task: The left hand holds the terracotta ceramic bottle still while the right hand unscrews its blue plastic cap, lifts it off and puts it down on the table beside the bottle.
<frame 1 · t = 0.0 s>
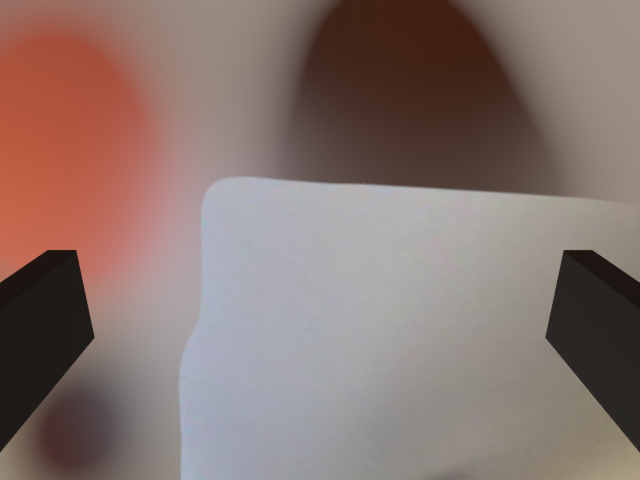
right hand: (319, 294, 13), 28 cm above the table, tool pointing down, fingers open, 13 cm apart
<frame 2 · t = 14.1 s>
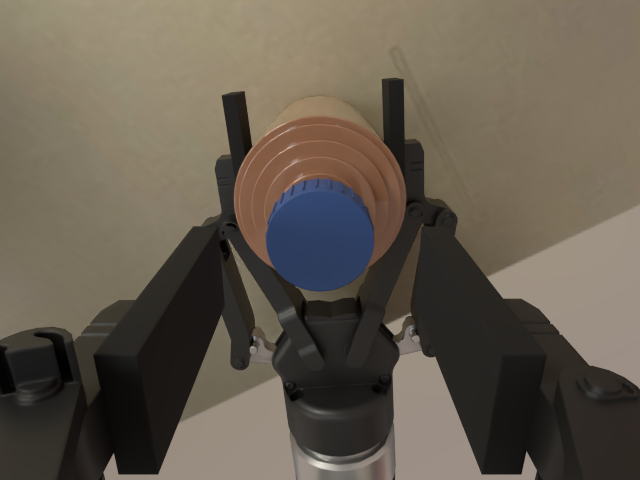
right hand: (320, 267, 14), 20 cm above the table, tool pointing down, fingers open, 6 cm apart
left hand: (312, 86, 24), fingers closed on bottle, 8 cm apart
cap: (320, 240, 16), point 17 cm above the table, screwed on, not yet turned
bottle: (320, 152, 32), on the table, touching left hand
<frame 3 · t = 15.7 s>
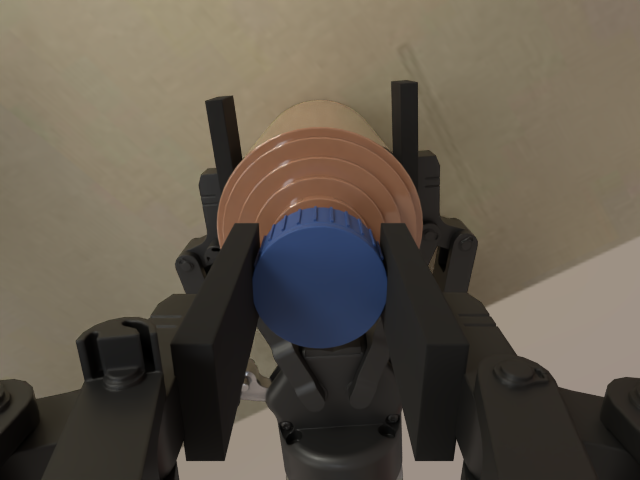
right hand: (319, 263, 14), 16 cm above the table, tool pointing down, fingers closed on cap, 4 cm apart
left hand: (311, 90, 21), fingers closed on bottle, 8 cm apart
cap: (319, 286, 13), point 17 cm above the table, screwed on, not yet turned, touching right hand
bottle: (319, 163, 29), on the table, touching left hand
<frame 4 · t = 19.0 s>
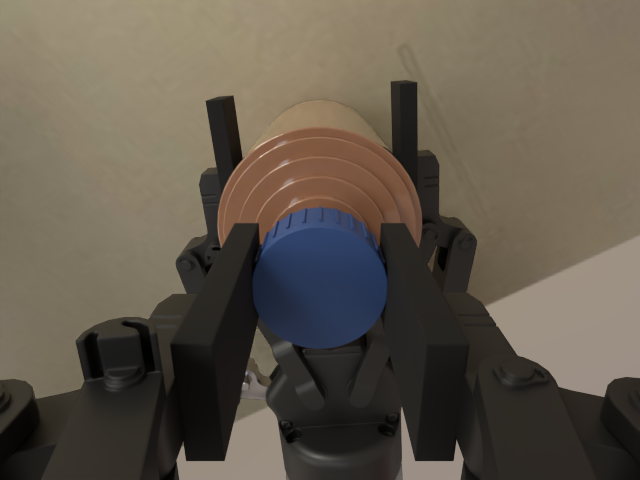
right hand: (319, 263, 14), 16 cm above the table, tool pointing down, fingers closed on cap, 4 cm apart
left hand: (311, 90, 21), fingers closed on bottle, 8 cm apart
cap: (319, 286, 13), point 17 cm above the table, turned 106° so far, risen 0.1 cm, still on its thread, touching right hand
bottle: (319, 163, 29), on the table, touching left hand
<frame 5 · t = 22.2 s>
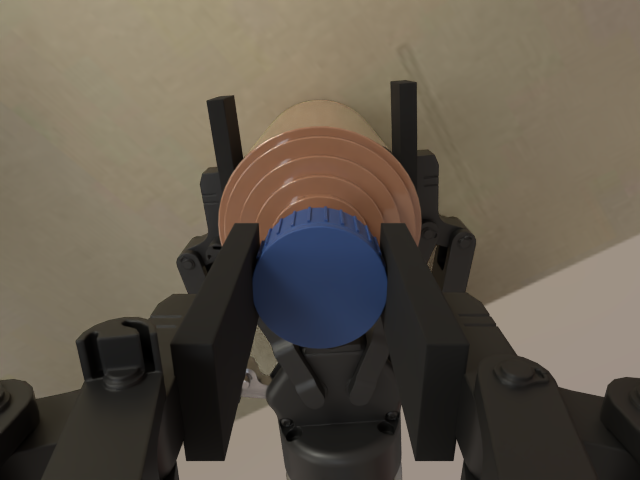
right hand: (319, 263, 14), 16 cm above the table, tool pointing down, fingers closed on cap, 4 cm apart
left hand: (311, 90, 21), fingers closed on bottle, 8 cm apart
cap: (319, 286, 13), point 17 cm above the table, turned 213° so far, risen 0.2 cm, still on its thread, touching right hand
bottle: (319, 162, 29), on the table, touching left hand
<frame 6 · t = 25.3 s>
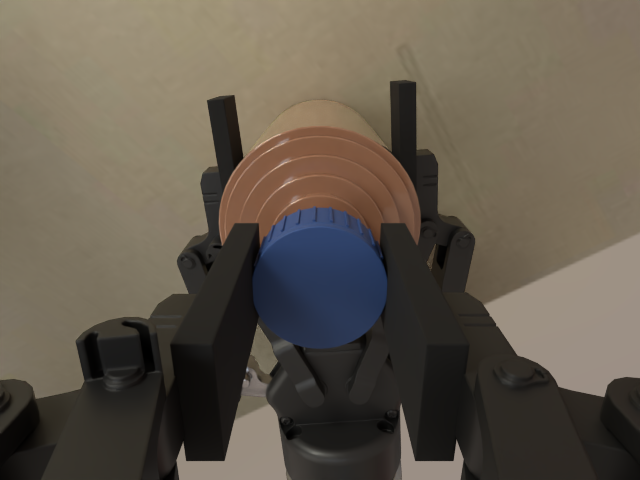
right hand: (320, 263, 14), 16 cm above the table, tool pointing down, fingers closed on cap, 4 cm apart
left hand: (311, 90, 21), fingers closed on bottle, 8 cm apart
cap: (319, 286, 13), point 18 cm above the table, turned 319° so far, risen 0.4 cm, still on its thread, touching right hand
bottle: (319, 162, 29), on the table, touching left hand
when the right hand's fingers open (1 cm above the table, at t = 31.2 s): cap drops 1 cm, point 1 cm above the table.
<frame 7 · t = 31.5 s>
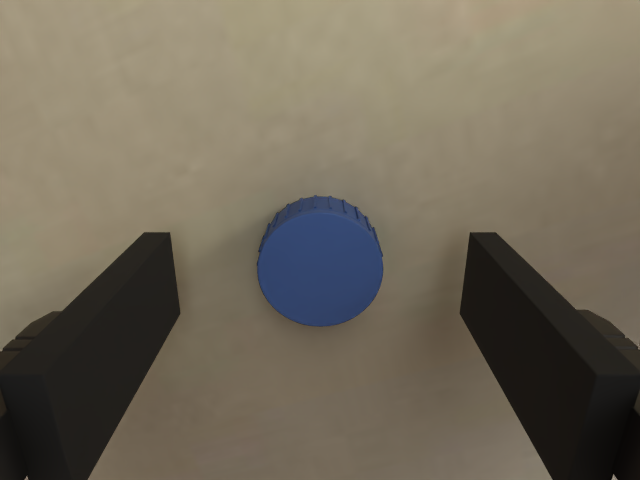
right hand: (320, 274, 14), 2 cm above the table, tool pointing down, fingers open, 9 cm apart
cap: (320, 268, 14), point 1 cm above the table, off its thread
when the left hand's fingers open (7 cm above the table, at t = 32.5 s): bottle stays where it is, on the table.
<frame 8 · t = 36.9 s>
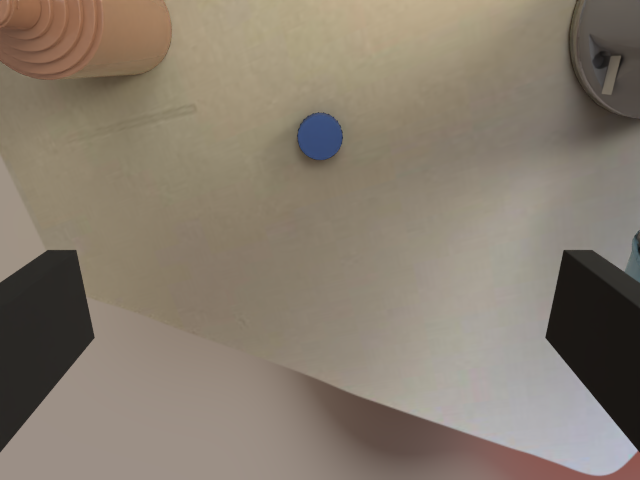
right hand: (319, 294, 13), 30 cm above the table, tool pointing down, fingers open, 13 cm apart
cap: (320, 137, 40), point 1 cm above the table, off its thread
bottle: (124, 24, 38), on the table
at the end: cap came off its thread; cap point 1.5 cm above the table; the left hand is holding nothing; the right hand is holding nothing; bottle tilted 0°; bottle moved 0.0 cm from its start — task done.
